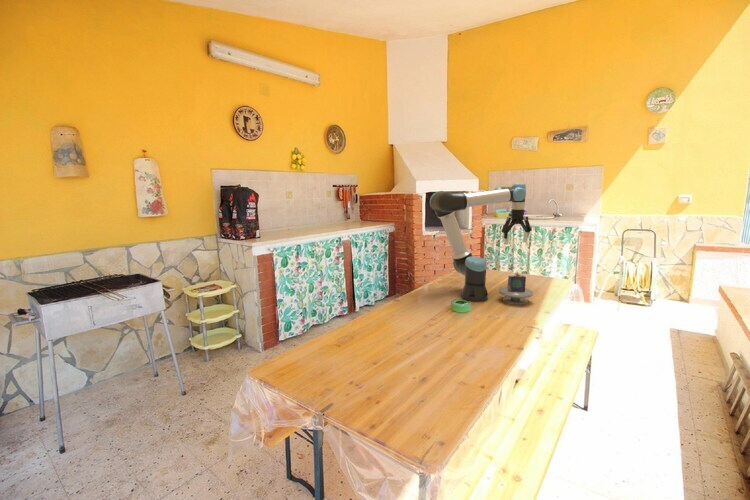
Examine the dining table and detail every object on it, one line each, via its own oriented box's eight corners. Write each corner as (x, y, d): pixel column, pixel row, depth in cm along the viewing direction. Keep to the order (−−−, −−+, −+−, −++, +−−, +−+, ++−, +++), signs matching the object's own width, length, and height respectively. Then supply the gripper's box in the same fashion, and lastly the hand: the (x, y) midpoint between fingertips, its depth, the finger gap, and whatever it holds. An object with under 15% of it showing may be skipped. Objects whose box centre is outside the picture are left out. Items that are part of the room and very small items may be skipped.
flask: (507, 291, 200) (508, 273, 198) (507, 289, 203) (508, 271, 201) (525, 292, 198) (526, 273, 196) (524, 290, 201) (525, 272, 199)
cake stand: (511, 308, 191) (512, 297, 190) (491, 298, 208) (492, 288, 207) (539, 304, 196) (540, 294, 194) (518, 295, 213) (518, 285, 211)
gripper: (504, 210, 211) (502, 245, 215) (539, 208, 218) (536, 242, 222) (496, 209, 218) (494, 243, 222) (530, 207, 225) (528, 240, 229)
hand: (515, 243), depth 222 cm, fingers open, 13 cm apart
